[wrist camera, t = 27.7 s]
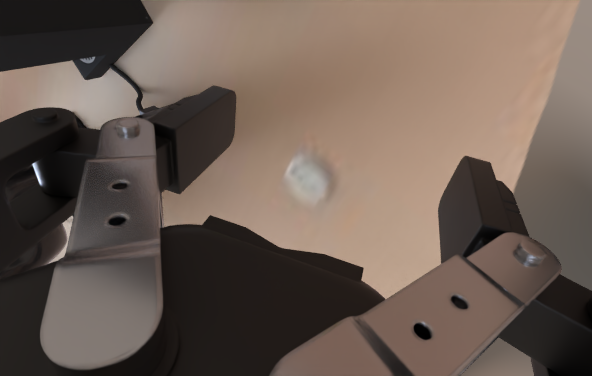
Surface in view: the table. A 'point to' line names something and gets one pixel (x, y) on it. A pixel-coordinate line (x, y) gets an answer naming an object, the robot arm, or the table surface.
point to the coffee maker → (69, 32)
